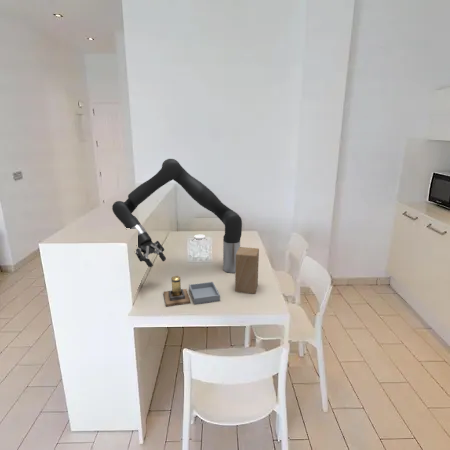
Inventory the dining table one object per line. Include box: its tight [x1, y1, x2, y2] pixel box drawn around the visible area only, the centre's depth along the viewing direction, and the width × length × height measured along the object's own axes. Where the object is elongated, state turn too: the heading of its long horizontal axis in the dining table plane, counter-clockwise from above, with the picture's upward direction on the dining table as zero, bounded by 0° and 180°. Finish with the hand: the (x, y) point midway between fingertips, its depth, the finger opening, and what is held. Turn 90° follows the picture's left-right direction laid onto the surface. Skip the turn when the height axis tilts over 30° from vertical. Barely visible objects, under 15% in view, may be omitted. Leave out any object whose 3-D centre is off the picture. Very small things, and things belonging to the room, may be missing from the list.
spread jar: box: [193, 233, 206, 240], centre depth 211 cm, size 12×11×12 cm
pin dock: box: [163, 288, 192, 307], centre depth 157 cm, size 11×12×3 cm
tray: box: [188, 281, 221, 305], centre depth 160 cm, size 12×14×3 cm
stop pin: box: [171, 275, 182, 297], centre depth 156 cm, size 4×4×10 cm
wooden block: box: [234, 246, 260, 295], centre depth 164 cm, size 10×10×20 cm
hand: (158, 263), depth 159 cm, fingers open, 8 cm apart
